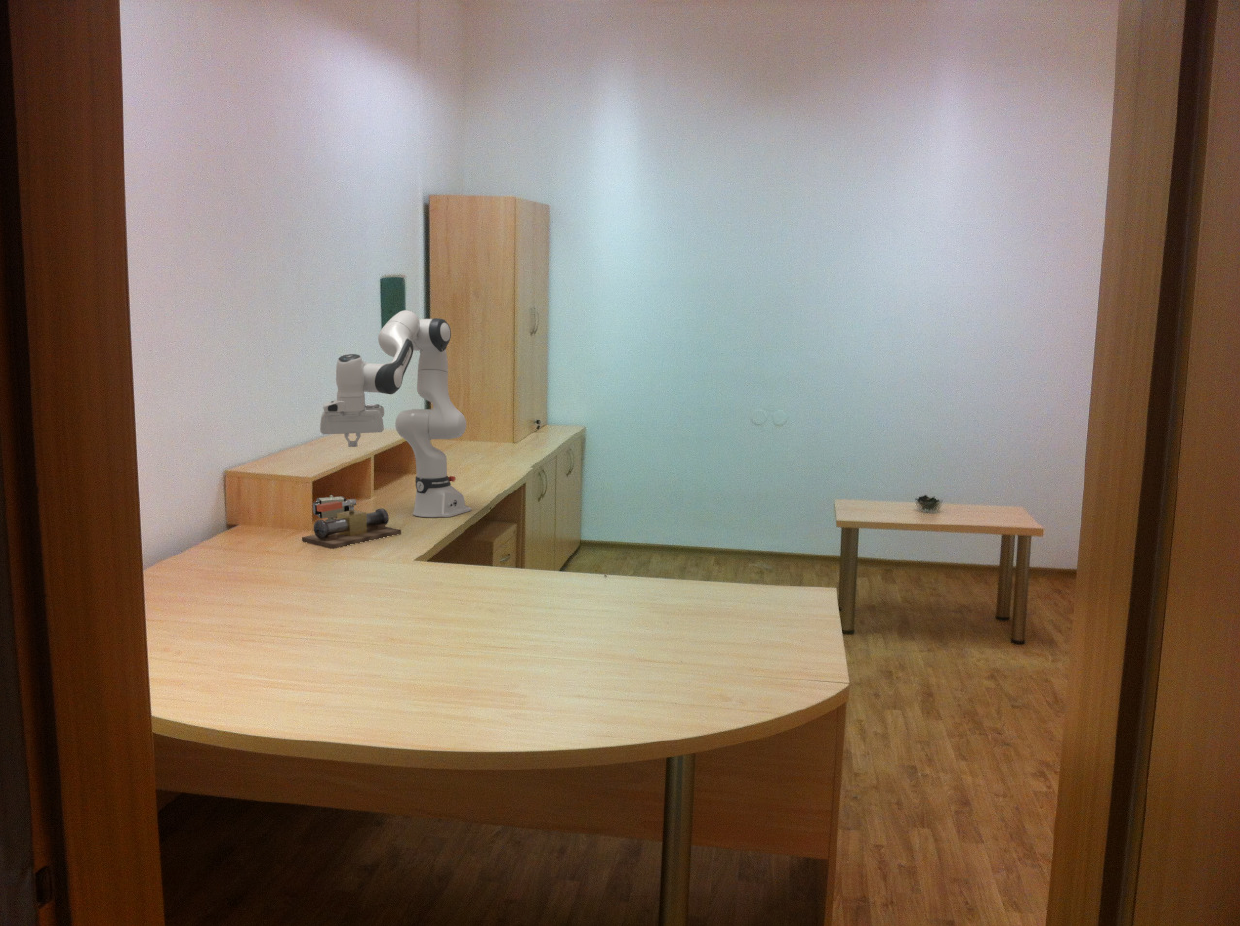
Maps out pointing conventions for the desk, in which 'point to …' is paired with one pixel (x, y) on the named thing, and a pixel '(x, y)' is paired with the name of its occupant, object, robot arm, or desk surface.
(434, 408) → the robot arm
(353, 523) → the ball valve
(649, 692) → the desk surface
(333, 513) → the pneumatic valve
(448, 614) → the desk surface
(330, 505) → the valve lever
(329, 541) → the dark brown base board
